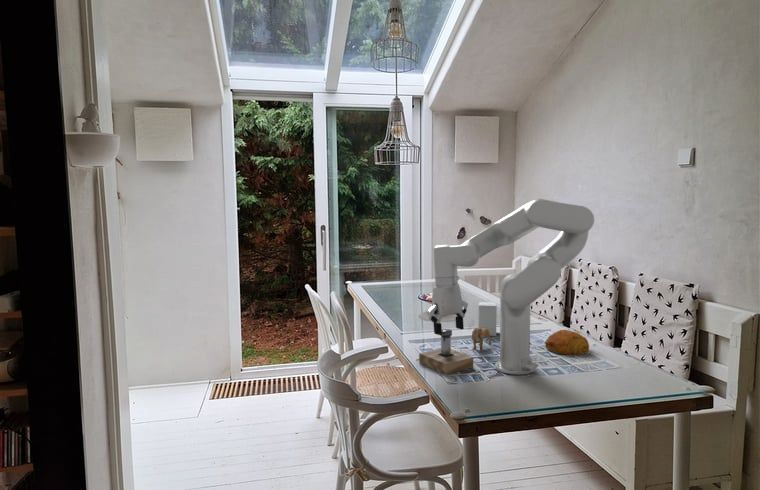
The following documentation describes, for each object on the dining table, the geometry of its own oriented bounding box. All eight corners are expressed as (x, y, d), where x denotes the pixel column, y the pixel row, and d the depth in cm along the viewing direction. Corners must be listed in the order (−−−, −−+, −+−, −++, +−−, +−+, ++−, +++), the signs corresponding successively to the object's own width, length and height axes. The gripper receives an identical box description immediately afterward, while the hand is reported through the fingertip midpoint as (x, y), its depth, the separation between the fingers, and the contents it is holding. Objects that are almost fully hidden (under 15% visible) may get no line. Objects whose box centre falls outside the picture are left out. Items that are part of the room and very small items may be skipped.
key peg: (454, 365, 174) (454, 330, 173) (445, 367, 172) (445, 332, 171) (446, 362, 178) (446, 328, 176) (437, 364, 175) (437, 330, 174)
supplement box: (496, 336, 209) (496, 305, 208) (477, 335, 211) (478, 305, 209) (496, 331, 216) (496, 302, 215) (478, 330, 218) (478, 301, 217)
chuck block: (473, 367, 172) (473, 356, 172) (446, 374, 166) (446, 363, 165) (445, 356, 184) (445, 346, 184) (419, 363, 177) (419, 352, 177)
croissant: (567, 347, 200) (566, 327, 200) (597, 353, 185) (595, 331, 186) (536, 351, 195) (535, 330, 195) (564, 357, 180) (563, 334, 181)
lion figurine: (483, 354, 187) (483, 329, 186) (469, 352, 189) (469, 328, 188) (492, 343, 200) (493, 320, 199) (479, 341, 202) (479, 319, 201)
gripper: (458, 276, 180) (460, 324, 181) (419, 284, 170) (422, 334, 172) (473, 278, 174) (475, 328, 175) (433, 286, 164) (436, 338, 166)
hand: (449, 331), depth 173 cm, fingers open, 9 cm apart
